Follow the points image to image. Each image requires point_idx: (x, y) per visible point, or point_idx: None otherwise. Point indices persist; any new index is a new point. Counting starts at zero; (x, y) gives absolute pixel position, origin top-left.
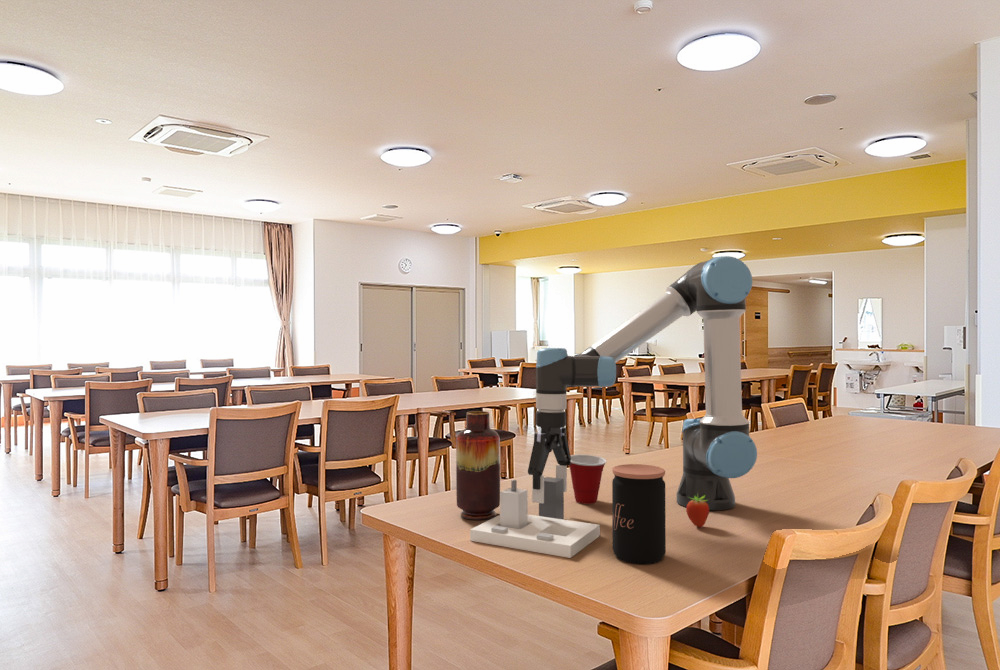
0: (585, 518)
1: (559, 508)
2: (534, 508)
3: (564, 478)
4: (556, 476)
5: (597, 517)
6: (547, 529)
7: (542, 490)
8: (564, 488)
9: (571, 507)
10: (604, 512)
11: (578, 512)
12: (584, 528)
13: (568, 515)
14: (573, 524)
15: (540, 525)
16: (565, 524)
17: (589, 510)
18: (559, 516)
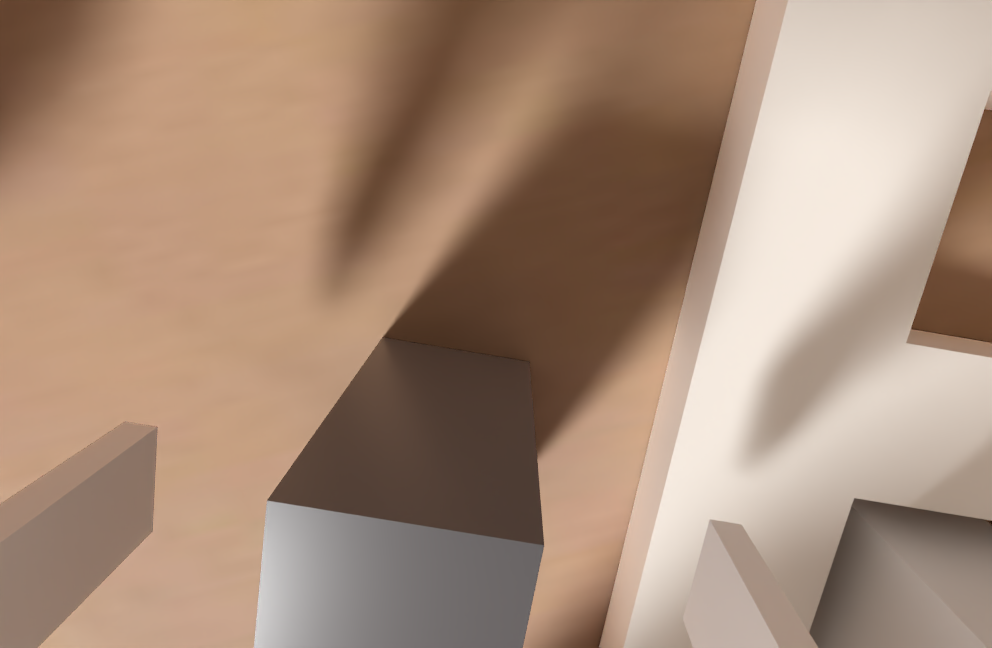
0: (297, 172)
1: (456, 386)
2: (185, 605)
3: (57, 515)
4: (50, 629)
5: (224, 75)
6: (962, 349)
7: (797, 614)
8: (134, 454)
9: (23, 357)
10: (39, 46)
11: (144, 269)
12: (968, 25)
13: (266, 326)
14: (856, 157)
15: (940, 418)
16: (871, 227)
17: (40, 192)
18: (462, 363)
